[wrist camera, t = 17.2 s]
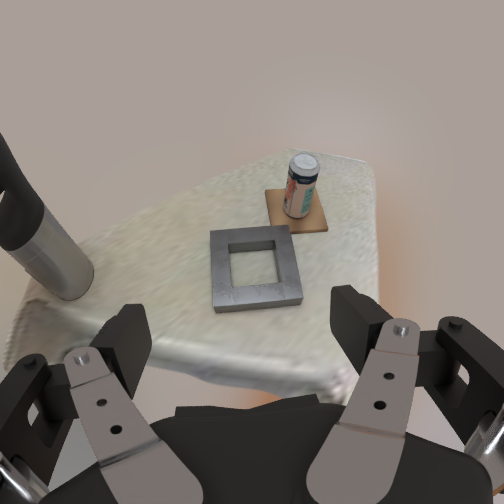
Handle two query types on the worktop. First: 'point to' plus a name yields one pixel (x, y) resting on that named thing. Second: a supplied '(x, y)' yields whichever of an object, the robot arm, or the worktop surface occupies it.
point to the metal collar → (254, 295)
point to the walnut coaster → (297, 225)
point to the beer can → (300, 184)
